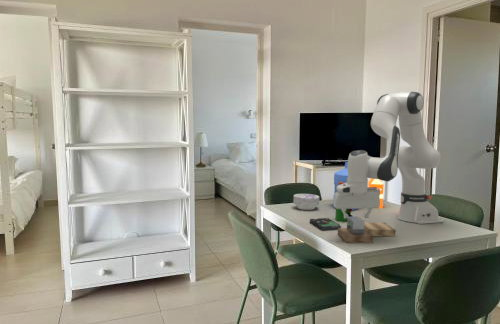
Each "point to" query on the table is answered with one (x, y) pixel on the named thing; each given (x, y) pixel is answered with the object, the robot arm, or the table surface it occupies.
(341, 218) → the motor
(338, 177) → the water jug
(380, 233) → the stand
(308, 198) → the paper bowls
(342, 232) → the stand
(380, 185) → the orange juice
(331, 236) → the table surface
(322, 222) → the disk drive
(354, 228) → the block
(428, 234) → the table surface
